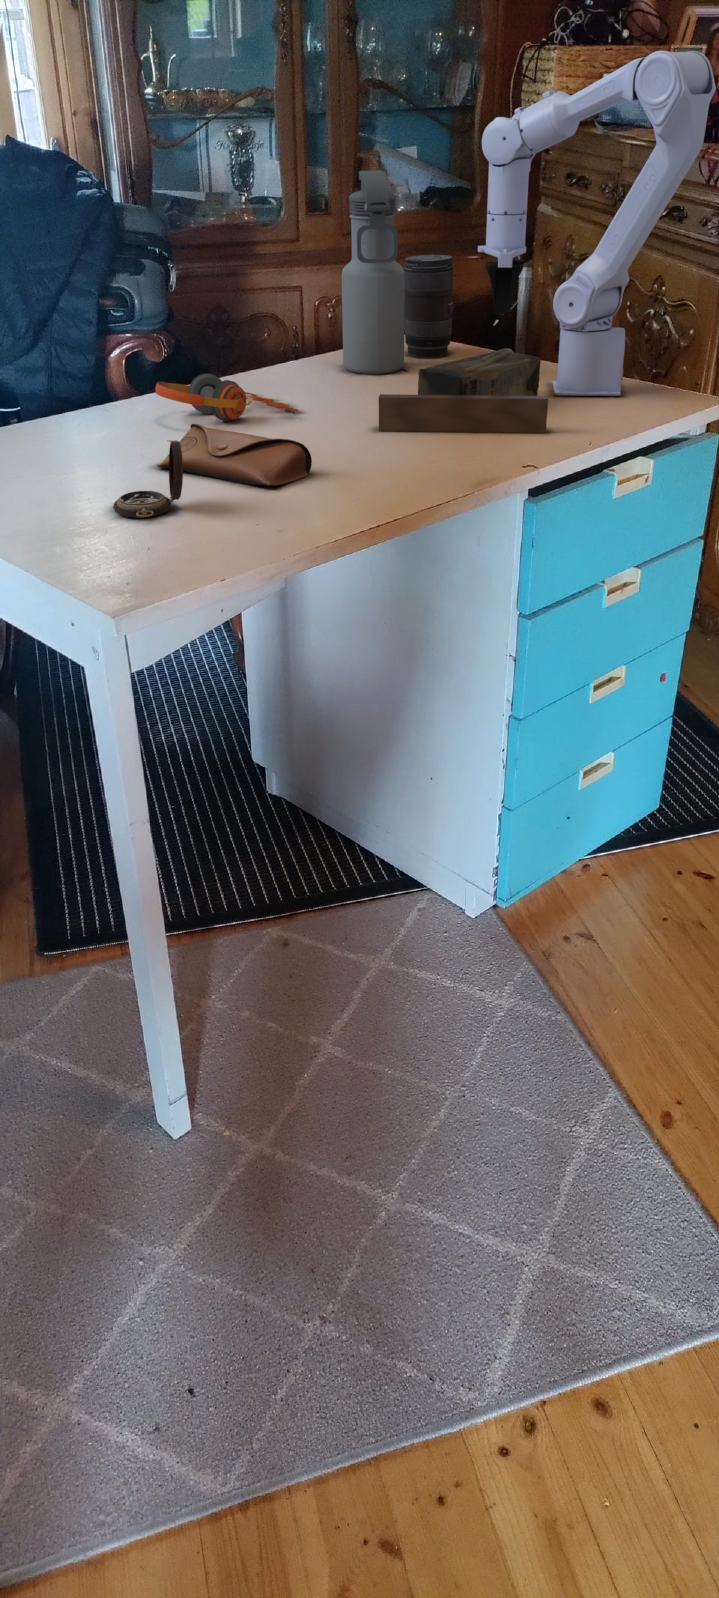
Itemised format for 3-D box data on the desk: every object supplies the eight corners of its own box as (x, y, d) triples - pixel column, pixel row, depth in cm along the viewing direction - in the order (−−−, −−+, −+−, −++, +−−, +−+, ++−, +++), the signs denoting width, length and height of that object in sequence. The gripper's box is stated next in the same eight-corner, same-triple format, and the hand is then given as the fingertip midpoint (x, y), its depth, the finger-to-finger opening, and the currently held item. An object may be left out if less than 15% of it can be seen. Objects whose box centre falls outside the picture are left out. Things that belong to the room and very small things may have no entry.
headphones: (249, 411, 178) (130, 400, 165) (254, 374, 176) (133, 360, 163) (314, 434, 166) (191, 424, 154) (321, 395, 164) (196, 381, 152)
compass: (112, 504, 132) (104, 438, 128) (183, 498, 134) (177, 433, 130) (116, 527, 125) (107, 457, 122) (191, 520, 127) (185, 452, 123)
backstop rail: (545, 430, 157) (547, 395, 155) (545, 433, 156) (548, 398, 153) (379, 428, 159) (379, 394, 157) (378, 431, 158) (378, 397, 155)
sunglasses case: (150, 465, 143) (163, 410, 143) (184, 481, 149) (197, 429, 149) (273, 487, 135) (287, 429, 135) (303, 503, 141) (317, 448, 141)
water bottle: (409, 374, 187) (411, 173, 172) (347, 376, 186) (344, 175, 171) (398, 361, 195) (399, 169, 181) (339, 363, 194) (335, 170, 180)
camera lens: (427, 347, 205) (428, 252, 197) (461, 353, 200) (464, 256, 192) (393, 354, 200) (393, 257, 193) (427, 361, 195) (428, 261, 187)
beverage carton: (541, 399, 172) (544, 351, 168) (459, 425, 159) (460, 374, 156) (496, 391, 176) (498, 344, 173) (413, 416, 164) (414, 366, 161)
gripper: (479, 208, 178) (476, 305, 185) (478, 218, 166) (474, 321, 173) (526, 208, 178) (521, 305, 185) (529, 218, 165) (523, 322, 172)
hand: (502, 313), depth 179 cm, fingers closed
